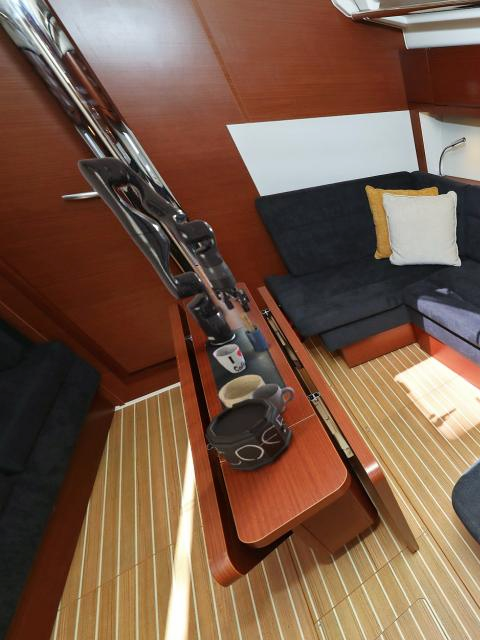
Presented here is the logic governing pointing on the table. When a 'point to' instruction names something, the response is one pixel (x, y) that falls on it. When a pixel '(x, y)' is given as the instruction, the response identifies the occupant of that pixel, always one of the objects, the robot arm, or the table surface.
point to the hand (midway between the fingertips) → (239, 310)
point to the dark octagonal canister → (249, 434)
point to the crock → (257, 340)
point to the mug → (273, 395)
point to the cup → (230, 358)
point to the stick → (247, 322)
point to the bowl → (239, 389)
